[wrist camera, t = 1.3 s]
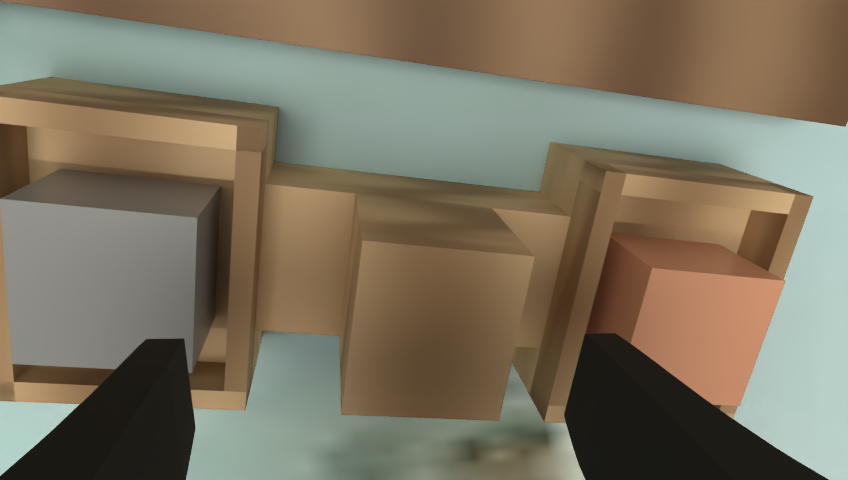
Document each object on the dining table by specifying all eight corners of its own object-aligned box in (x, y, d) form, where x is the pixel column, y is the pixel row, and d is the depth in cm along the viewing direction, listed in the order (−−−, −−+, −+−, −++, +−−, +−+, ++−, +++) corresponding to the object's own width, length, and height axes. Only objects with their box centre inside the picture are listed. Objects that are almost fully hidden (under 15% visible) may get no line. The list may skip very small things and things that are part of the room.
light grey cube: (220, 185, 16) (197, 218, 13) (214, 317, 17) (192, 373, 15) (60, 168, 15) (-1, 199, 13) (65, 308, 17) (11, 364, 14)
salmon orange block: (718, 244, 19) (785, 281, 16) (683, 354, 20) (739, 406, 17) (603, 231, 18) (652, 268, 16) (573, 346, 20) (614, 399, 17)
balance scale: (719, 163, 21) (888, 222, 15) (659, 359, 24) (782, 482, 17) (51, 76, 17) (-118, 105, 11) (62, 322, 20) (-71, 465, 13)
